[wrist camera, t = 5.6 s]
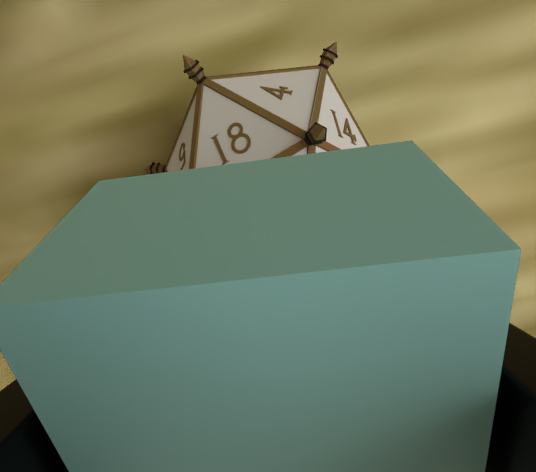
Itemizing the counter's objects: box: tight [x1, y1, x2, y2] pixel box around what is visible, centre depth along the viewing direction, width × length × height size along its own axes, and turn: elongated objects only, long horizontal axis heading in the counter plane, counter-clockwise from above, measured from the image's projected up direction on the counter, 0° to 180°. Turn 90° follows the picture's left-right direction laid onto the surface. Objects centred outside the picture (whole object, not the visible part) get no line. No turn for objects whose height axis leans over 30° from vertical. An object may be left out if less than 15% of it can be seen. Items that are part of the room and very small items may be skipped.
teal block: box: [0, 141, 521, 472], centre depth 8 cm, size 6×6×4 cm
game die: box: [144, 42, 369, 174], centre depth 16 cm, size 9×8×10 cm
